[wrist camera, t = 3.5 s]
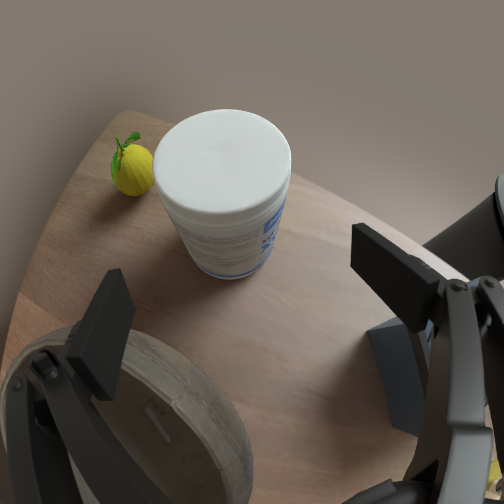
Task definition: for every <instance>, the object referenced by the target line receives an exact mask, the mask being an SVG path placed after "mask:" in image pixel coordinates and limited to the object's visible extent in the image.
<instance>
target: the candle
mask: <svg viewBox="0 0 504 504" xmlns="http://www.w3.org/2000/svg"><path fill="white" fill-rule="evenodd" d="M500 472H501V470H500V466H499V462H498V460H494V461H493V462H491V466H490V472H489V478H488V484H487V489H486V494H485V496H486V495H487V494H488V493H489V492H492V493H494V494H497V495H500V496H501V494H502V493H497V492H496V484H497V482H498V481H499V480H497V479H498V477H499V475H500Z"/></svg>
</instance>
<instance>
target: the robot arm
mask: <svg viewBox="0 0 504 504" xmlns="http://www.w3.org/2000/svg"><path fill="white" fill-rule="evenodd" d="M350 267H351V268H352V269H353V270H354V271H355V272H356V273H357V274H358V275H359V276H360V277H361V278H362V279H363V280H364V281H365V282H366V283H367V284H368V285H369V286H370V287H371V288H372V290H373V291H374V292H375V293H376V294H377V295H378V296H379V297H380V298H381V299H382V300H383V301H384V302H385V303H386V305H387V306H388V307H389V308H390V309H391V310H392V311H393V312H394V313H395V314H396V316H397V317H398V318H399V319H400V320H401V321H402V322H403V323H404V325H405V326H406V327H407V328H408V329H409V330H410V331H411V333H412V334H413V335H414V334H417V333H419V332H421V331H423V330H425V329H426V326H427V323H428V320H430V321H431V322H432V323H433V326H432V329H431V331H430V334H429V337H428V340H427V342H429V340H430V339H431V350H430V365H429V376H428V385H427V393H426V400H425V407H424V413H423V418H422V423H421V428H420V433H419V438H418V442H417V446H416V450H415V454H414V457H413V460H412V462H411V463H410V465H409V467H408V469H407V471H406V473H405V475H404V478H403V481H397V482H392V480H391V478H390V479H388V480H386V481H384V482H382V483H380V484H378V485H376V486H373V487H371V488H369V489H367V490H364V491H362V492H359V493H358V494H356V495H355V496H353V497H352V498H350V499H348V500H347V501H345V502H344V503H342V504H504V289H503V287H502V286H501V284H500V283H499V282H498V281H497V280H496V279H495V278H494V277H491V276H481V277H480V279H479V282H478V285H477V286H470V287H469V285H468V284H467V283H466V282H464V281H462V280H459V279H450V280H447V279H446V278H444V277H443V276H442V275H441V274H439V273H438V272H437V271H435V270H434V269H433V268H431V267H430V266H429V265H427V264H426V263H425V262H423V261H422V260H421V259H419V258H417V257H415V256H412V255H409V254H407V253H406V252H405V251H403V250H402V249H400V248H399V247H398V246H396V245H395V244H393V243H392V242H391V241H389V240H388V239H386V238H385V237H383V236H382V235H381V234H379V233H378V232H376V231H375V230H373V229H372V228H370V227H369V226H367V225H366V224H364V223H359V224H353V225H352V243H351V264H350ZM135 310H136V307H135V305H134V303H133V300H132V298H131V295H130V293H129V291H128V288H127V285H126V283H125V280H124V278H123V275H122V272H121V270H120V268H118V269H113V270H108V272H107V273H106V275H105V277H104V279H103V280H102V282H101V284H100V286H99V288H98V290H97V291H96V293H95V295H94V297H93V299H92V301H91V303H90V305H89V307H88V309H87V311H86V313H85V315H84V317H83V319H82V321H78V322H77V323H76V324H75V325H74V326H73V327H72V329H71V331H70V333H69V335H68V337H67V339H66V341H65V343H64V345H63V348H62V350H61V352H60V354H59V356H58V358H57V357H56V355H55V354H54V352H53V351H52V350H51V348H48V347H43V348H40V349H38V350H37V351H35V352H34V353H33V354H32V356H31V357H30V359H29V361H28V366H29V368H30V369H31V370H32V372H33V373H34V374H35V375H36V377H37V379H34V380H31V381H30V380H29V379H28V378H27V376H26V375H25V374H23V373H19V374H16V375H15V376H13V377H12V378H11V379H10V381H9V383H8V386H7V395H6V446H7V458H8V467H9V475H10V481H11V487H12V493H13V497H14V502H15V504H84V503H83V500H82V497H81V495H80V492H79V489H78V486H77V483H76V480H75V476H74V473H73V470H72V466H71V463H70V459H69V455H68V452H69V454H70V455H71V457H72V459H73V461H74V463H75V465H76V467H77V468H78V470H79V472H80V474H81V475H82V477H83V479H84V480H85V482H86V484H87V485H88V487H89V488H90V490H91V491H92V493H93V494H94V496H95V497H96V499H97V500H98V502H99V503H100V504H174V503H173V502H172V501H171V500H170V499H169V498H168V497H167V496H166V495H165V494H164V493H163V492H162V491H161V490H160V489H159V488H158V487H157V486H156V485H155V484H154V482H153V481H152V480H151V479H150V478H149V477H148V476H147V475H146V474H145V473H144V471H143V470H142V469H141V468H140V467H139V466H138V464H137V463H136V462H135V461H134V460H133V458H132V457H131V456H130V455H129V453H128V452H127V451H126V450H125V448H124V447H123V446H122V444H121V443H120V442H119V440H118V439H117V438H116V436H115V435H114V434H113V432H112V431H111V429H110V428H109V426H108V425H107V423H106V422H105V421H104V419H103V417H102V416H101V414H100V413H99V411H98V410H97V408H96V407H95V405H94V404H93V403H92V401H91V400H90V399H91V395H92V393H93V395H94V396H95V397H96V398H97V399H98V401H114V396H115V391H116V386H117V382H118V377H119V372H120V368H121V364H122V359H123V355H124V351H125V347H126V343H127V339H128V336H129V332H130V328H131V324H132V321H133V317H134V314H135ZM489 317H491V324H490V325H489V323H488V319H489ZM485 392H486V396H487V400H488V405H489V409H490V414H491V419H492V425H493V430H494V437H495V444H496V451H497V458H498V462H499V466H500V470H501V473H502V478H501V479H500V480H499V481H498V482H497V484H496V492H497V493H502V494H501V498H500V500H494V499H488V498H485V494H486V489H487V484H488V478H489V472H490V466H491V458H492V448H493V431H492V429H491V428H490V427H486V426H485ZM67 450H68V451H67Z"/></svg>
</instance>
